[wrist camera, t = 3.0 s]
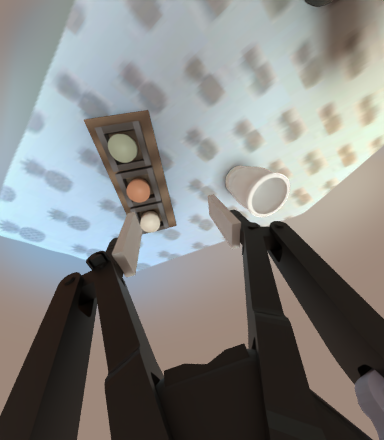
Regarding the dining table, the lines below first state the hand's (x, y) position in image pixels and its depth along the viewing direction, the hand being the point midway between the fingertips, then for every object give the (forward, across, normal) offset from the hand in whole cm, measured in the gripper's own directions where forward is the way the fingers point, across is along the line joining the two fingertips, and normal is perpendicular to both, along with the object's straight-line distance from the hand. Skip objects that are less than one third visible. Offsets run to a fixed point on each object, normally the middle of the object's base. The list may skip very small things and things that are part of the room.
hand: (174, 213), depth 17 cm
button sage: (+21, -7, +7) cm, 23 cm away
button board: (+25, -7, -2) cm, 26 cm away
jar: (+26, +21, -7) cm, 34 cm away
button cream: (+21, -7, -11) cm, 24 cm away
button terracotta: (+21, -7, -2) cm, 22 cm away
